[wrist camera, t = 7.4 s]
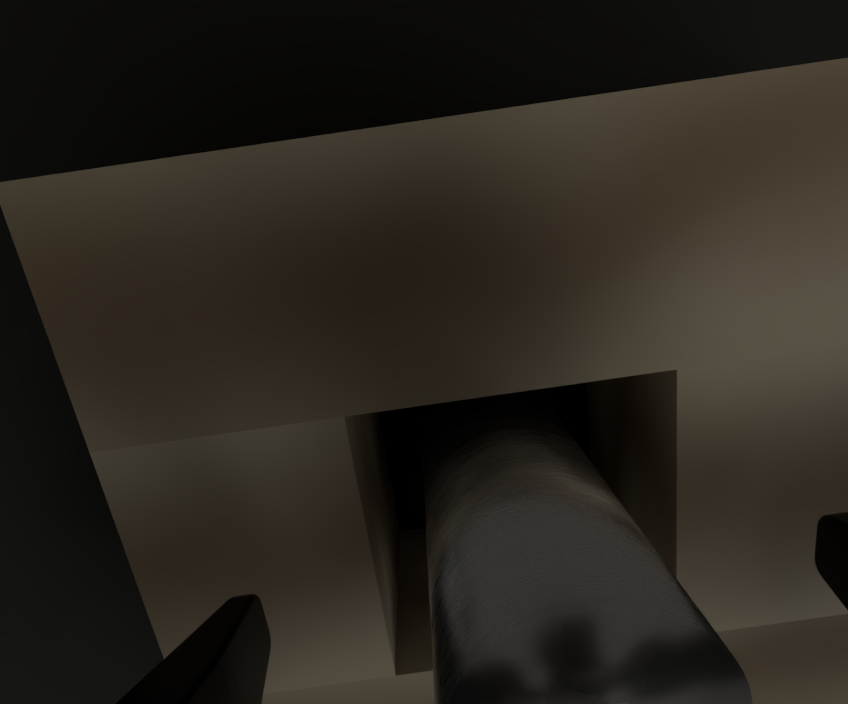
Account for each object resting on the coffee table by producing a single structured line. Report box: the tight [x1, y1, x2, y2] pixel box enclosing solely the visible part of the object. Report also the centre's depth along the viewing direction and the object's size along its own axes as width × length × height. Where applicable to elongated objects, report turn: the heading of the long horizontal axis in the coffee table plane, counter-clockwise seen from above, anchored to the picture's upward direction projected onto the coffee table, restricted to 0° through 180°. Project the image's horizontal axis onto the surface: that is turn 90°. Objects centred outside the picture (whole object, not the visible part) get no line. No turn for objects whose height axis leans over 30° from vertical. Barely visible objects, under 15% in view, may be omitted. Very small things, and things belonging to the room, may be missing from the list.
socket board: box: [0, 58, 848, 704], centre depth 11 cm, size 14×14×4 cm
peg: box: [421, 389, 753, 704], centre depth 9 cm, size 4×4×8 cm
